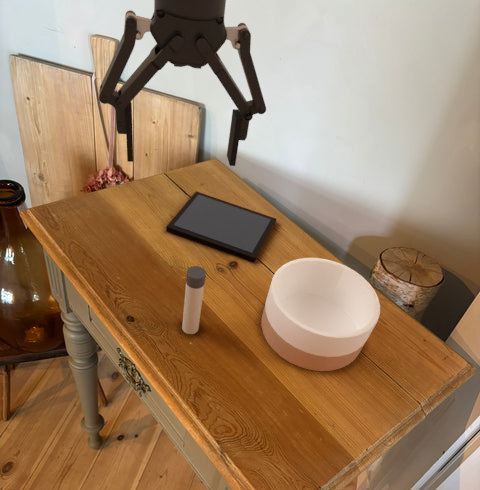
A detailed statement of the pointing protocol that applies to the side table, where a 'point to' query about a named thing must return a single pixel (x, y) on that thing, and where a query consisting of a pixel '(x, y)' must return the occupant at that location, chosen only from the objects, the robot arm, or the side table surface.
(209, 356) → the side table surface
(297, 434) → the side table surface
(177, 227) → the tablet
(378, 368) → the side table surface
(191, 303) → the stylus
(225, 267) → the side table surface
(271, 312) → the bowl
